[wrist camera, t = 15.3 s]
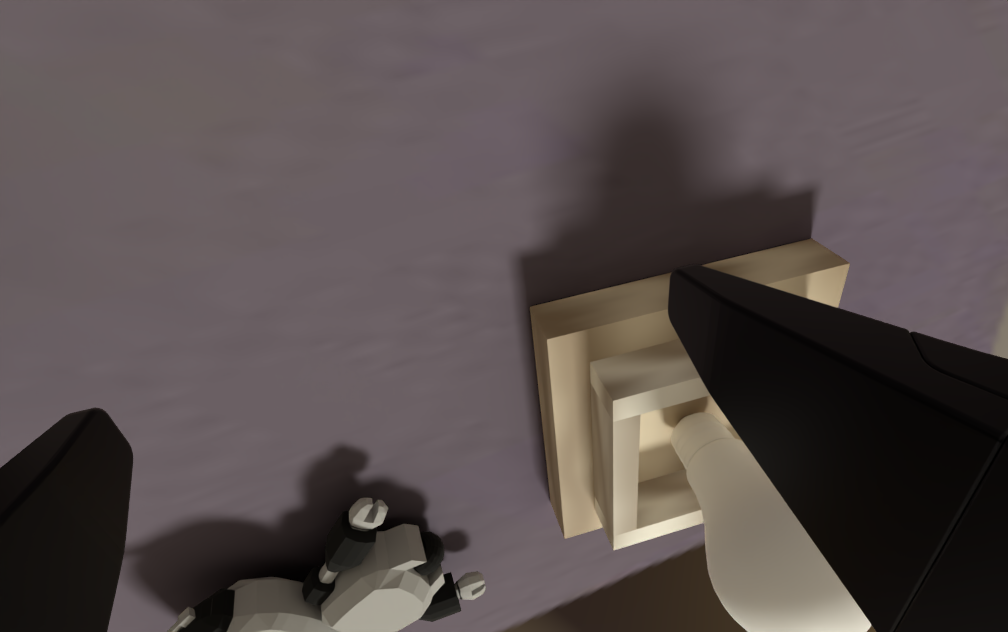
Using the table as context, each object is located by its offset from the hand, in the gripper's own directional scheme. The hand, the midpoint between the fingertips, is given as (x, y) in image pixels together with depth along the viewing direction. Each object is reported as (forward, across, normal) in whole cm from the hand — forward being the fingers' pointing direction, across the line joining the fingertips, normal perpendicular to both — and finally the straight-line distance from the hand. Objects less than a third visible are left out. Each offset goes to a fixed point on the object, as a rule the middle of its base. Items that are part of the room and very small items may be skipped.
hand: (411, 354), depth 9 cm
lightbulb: (+11, -12, +16) cm, 23 cm away
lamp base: (+13, -12, +16) cm, 24 cm away
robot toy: (+13, +8, +24) cm, 29 cm away
